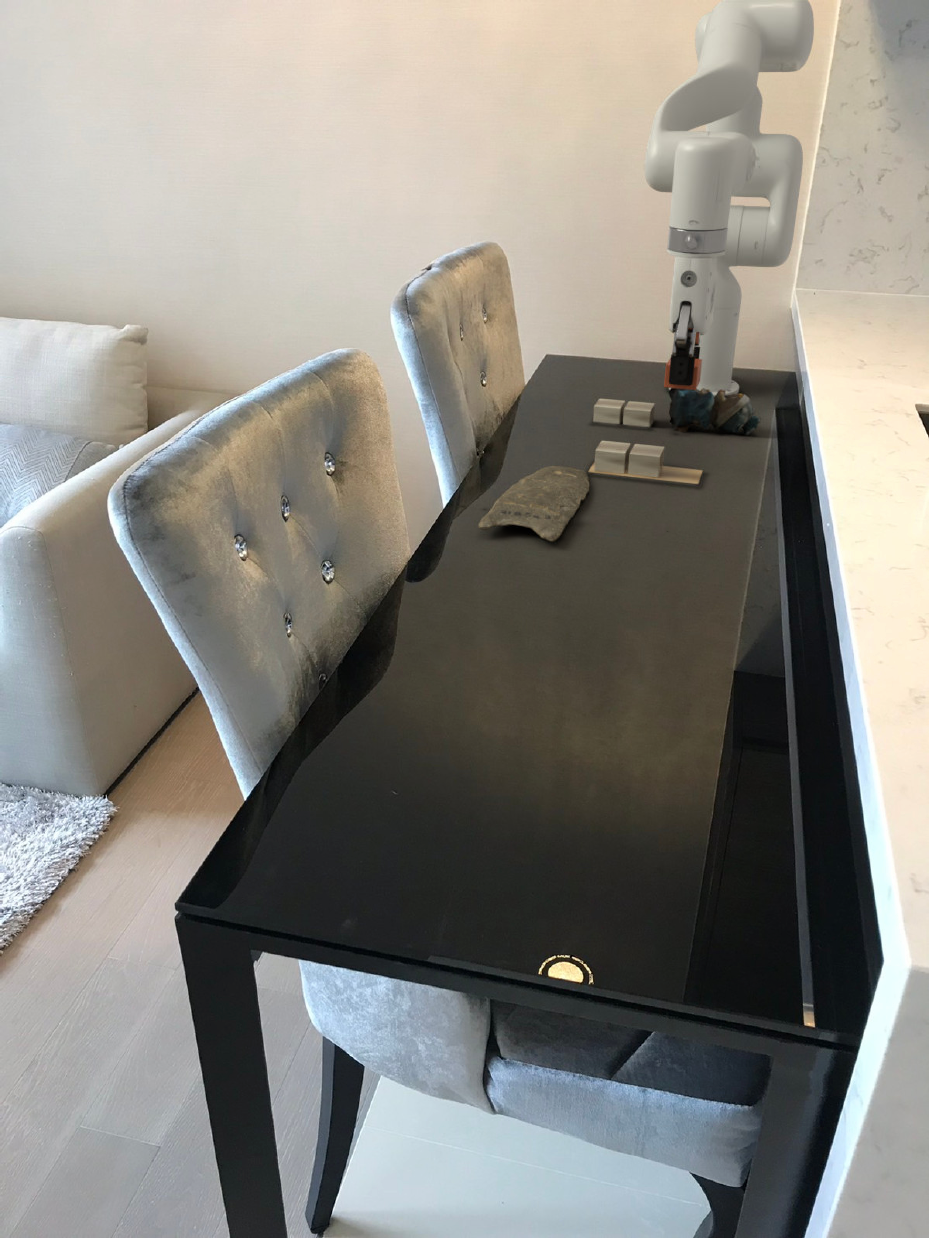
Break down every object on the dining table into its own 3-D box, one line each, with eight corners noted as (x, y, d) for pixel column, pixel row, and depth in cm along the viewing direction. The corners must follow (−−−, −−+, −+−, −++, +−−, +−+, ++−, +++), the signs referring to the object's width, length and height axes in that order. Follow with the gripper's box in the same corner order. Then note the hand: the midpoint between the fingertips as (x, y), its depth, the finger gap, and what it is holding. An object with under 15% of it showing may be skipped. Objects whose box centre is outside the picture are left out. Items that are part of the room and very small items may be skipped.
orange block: (668, 379, 143) (670, 356, 141) (699, 381, 141) (702, 359, 140) (663, 387, 139) (665, 364, 138) (695, 390, 138) (698, 367, 136)
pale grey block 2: (627, 419, 169) (628, 401, 168) (653, 421, 168) (655, 403, 167) (622, 427, 166) (623, 408, 164) (649, 430, 165) (650, 411, 163)
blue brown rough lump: (675, 382, 167) (767, 382, 161) (672, 433, 169) (763, 434, 163) (661, 382, 160) (756, 382, 153) (658, 434, 162) (753, 436, 155)
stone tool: (558, 550, 125) (601, 480, 146) (558, 529, 124) (602, 461, 144) (475, 539, 128) (529, 472, 149) (475, 518, 127) (529, 454, 147)
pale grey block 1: (600, 460, 151) (601, 440, 149) (629, 463, 150) (630, 443, 148) (594, 470, 147) (595, 450, 146) (623, 474, 146) (625, 453, 144)
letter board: (595, 462, 152) (596, 458, 152) (702, 474, 147) (703, 470, 147) (587, 475, 147) (588, 471, 147) (697, 487, 143) (698, 483, 142)
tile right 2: (633, 464, 149) (634, 443, 148) (662, 467, 148) (664, 446, 147) (627, 474, 146) (629, 453, 144) (658, 477, 145) (660, 456, 143)
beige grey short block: (598, 416, 171) (599, 398, 169) (624, 419, 170) (625, 400, 168) (593, 424, 167) (594, 406, 166) (619, 427, 166) (620, 408, 164)
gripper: (718, 253, 123) (702, 399, 132) (732, 233, 137) (717, 366, 146) (657, 250, 125) (645, 394, 134) (677, 231, 139) (665, 362, 148)
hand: (683, 378), depth 140 cm, fingers closed on orange block, 4 cm apart
